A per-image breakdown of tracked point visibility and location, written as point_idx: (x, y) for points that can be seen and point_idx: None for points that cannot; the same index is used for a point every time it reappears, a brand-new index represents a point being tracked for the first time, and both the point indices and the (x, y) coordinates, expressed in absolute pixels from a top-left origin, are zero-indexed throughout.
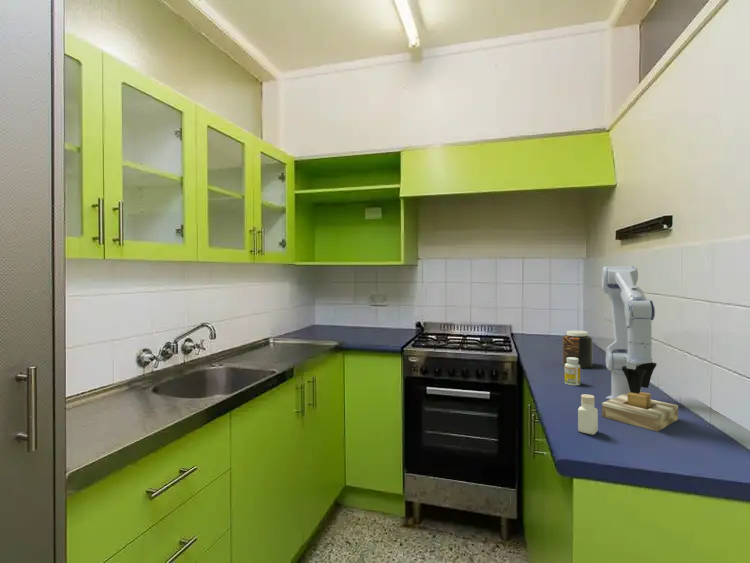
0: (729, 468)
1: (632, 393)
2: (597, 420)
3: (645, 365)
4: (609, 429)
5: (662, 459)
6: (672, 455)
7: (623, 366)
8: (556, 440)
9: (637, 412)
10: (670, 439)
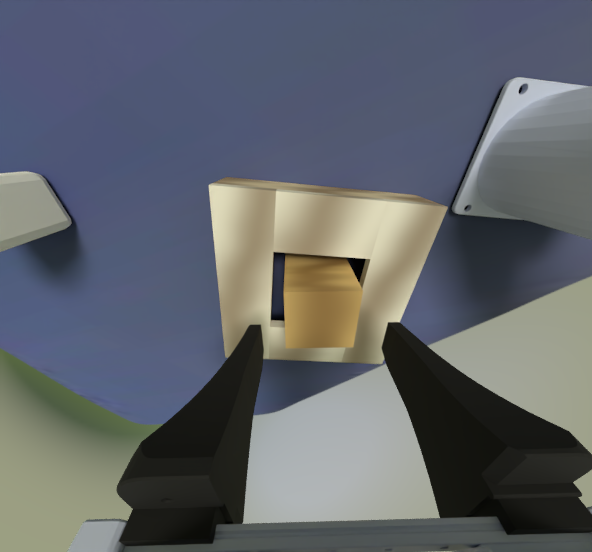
0: (164, 414)
1: (306, 304)
2: (28, 241)
3: (459, 487)
4: (131, 242)
5: (89, 363)
6: (127, 368)
7: (165, 484)
8: None
9: (222, 312)
10: (209, 350)
